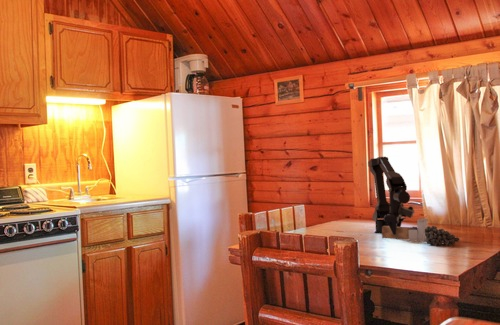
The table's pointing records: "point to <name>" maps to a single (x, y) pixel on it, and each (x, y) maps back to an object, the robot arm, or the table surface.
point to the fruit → (439, 236)
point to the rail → (397, 232)
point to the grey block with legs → (419, 230)
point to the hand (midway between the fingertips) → (396, 233)
